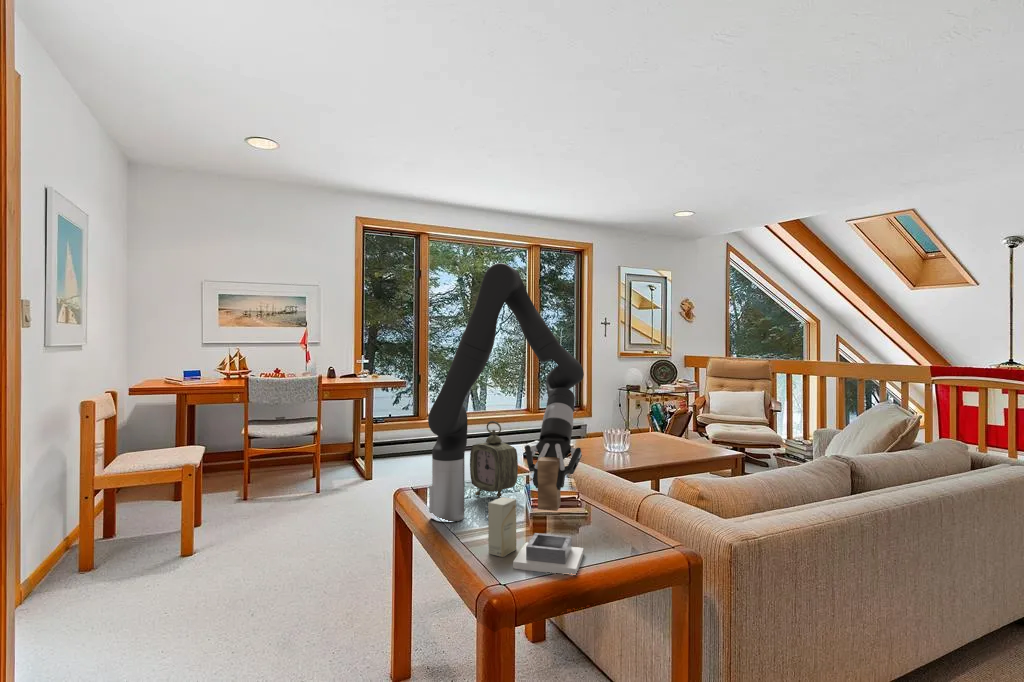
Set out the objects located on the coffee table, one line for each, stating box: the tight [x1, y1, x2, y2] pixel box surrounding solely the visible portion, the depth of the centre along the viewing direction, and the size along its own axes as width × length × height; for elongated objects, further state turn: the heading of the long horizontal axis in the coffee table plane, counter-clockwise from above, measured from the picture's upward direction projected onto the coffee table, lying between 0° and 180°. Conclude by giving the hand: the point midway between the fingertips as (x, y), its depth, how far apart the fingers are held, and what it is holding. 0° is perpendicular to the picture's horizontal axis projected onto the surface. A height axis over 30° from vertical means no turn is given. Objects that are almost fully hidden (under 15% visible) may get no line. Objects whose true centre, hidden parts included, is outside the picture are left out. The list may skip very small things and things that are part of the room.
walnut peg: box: [537, 457, 561, 512], centre depth 119 cm, size 4×4×11 cm
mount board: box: [512, 532, 585, 574], centre depth 119 cm, size 14×12×4 cm
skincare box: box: [487, 496, 517, 558], centre depth 125 cm, size 6×4×12 cm
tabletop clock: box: [469, 420, 519, 499], centre depth 169 cm, size 14×9×25 cm, turn 43°
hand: (547, 486), depth 117 cm, fingers closed on walnut peg, 4 cm apart
